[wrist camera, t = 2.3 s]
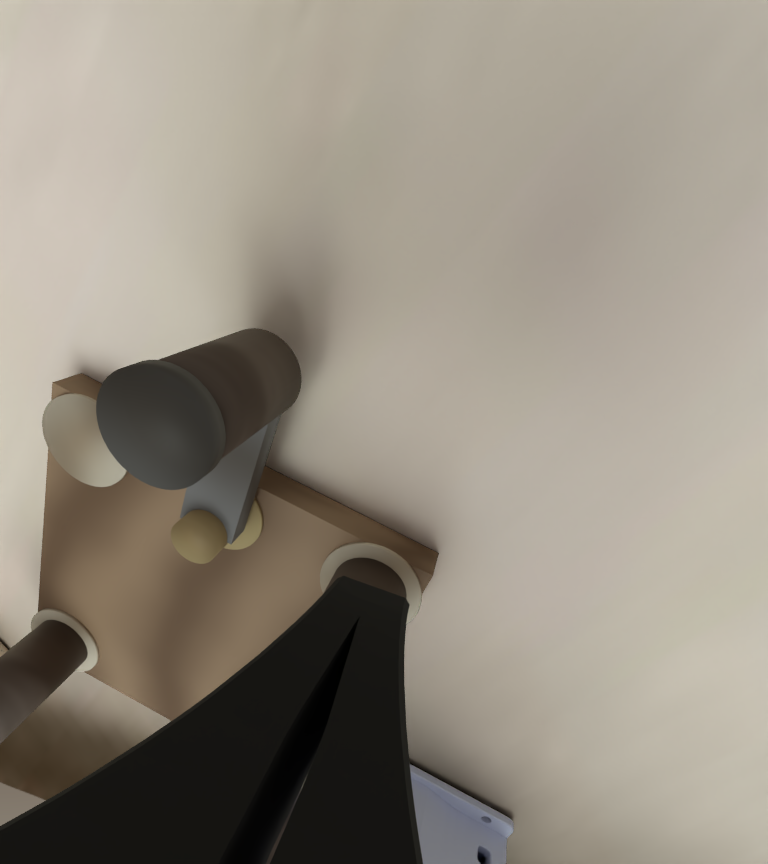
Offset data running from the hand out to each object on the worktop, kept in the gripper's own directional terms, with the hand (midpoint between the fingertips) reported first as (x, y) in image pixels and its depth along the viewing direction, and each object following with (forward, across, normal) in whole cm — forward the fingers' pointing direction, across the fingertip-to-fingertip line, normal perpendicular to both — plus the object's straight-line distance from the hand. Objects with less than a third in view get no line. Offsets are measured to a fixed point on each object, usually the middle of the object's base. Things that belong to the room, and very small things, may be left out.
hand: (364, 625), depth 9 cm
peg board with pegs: (+10, +9, +13) cm, 19 cm away
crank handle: (+8, +7, +2) cm, 11 cm away
